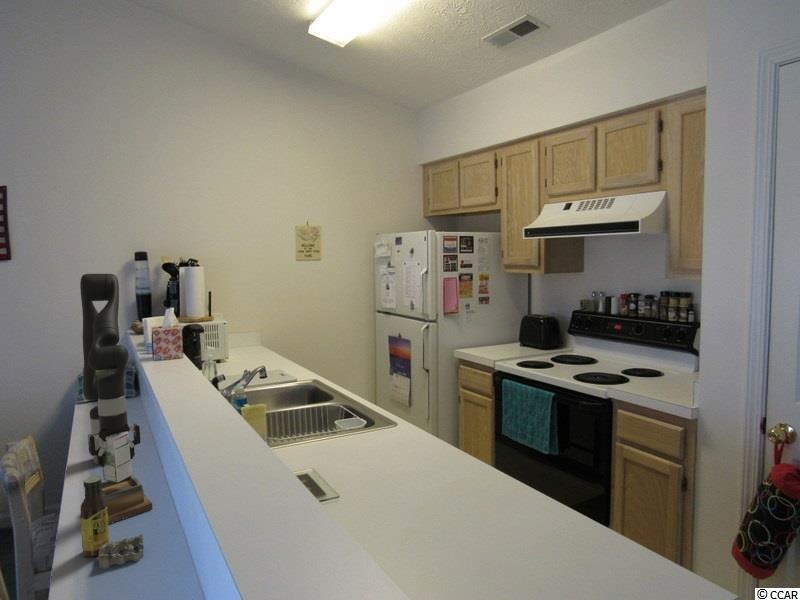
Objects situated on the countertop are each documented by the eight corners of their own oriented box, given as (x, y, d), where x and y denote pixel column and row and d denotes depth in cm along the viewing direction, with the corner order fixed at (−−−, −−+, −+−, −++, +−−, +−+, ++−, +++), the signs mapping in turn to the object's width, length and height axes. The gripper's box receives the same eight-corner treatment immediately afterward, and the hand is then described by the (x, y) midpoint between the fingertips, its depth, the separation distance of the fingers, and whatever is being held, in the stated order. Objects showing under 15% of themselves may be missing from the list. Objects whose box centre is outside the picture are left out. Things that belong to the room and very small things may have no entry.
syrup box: (132, 475, 161) (129, 430, 159) (116, 483, 155) (113, 437, 153) (118, 472, 162) (115, 428, 161) (102, 480, 157) (98, 435, 155)
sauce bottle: (97, 559, 134) (91, 487, 132) (76, 556, 135) (70, 484, 133) (115, 544, 140) (110, 475, 138) (96, 542, 142) (90, 473, 139)
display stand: (87, 506, 161) (85, 483, 160) (136, 491, 170) (134, 469, 169) (101, 526, 149) (99, 502, 148) (152, 509, 159) (150, 486, 158)
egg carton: (97, 572, 129) (95, 557, 129) (100, 555, 136) (99, 541, 136) (144, 560, 134) (143, 546, 133) (145, 545, 141) (144, 531, 140)
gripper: (134, 402, 164) (137, 452, 166) (82, 413, 154) (86, 465, 156) (141, 408, 158) (145, 459, 160) (88, 419, 149) (93, 473, 150)
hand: (116, 462), depth 158 cm, fingers closed on syrup box, 7 cm apart
